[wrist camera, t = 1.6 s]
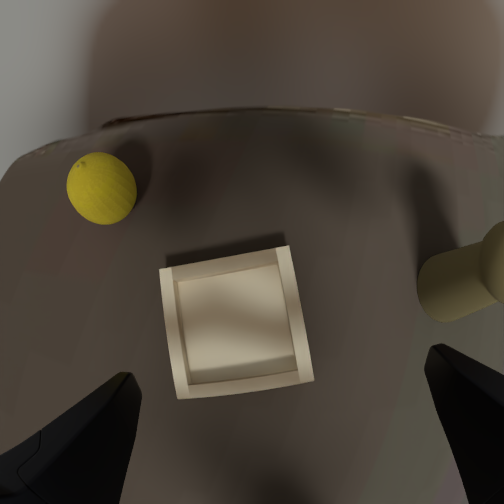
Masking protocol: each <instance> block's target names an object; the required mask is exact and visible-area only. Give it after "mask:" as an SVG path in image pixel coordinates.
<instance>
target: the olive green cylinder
mask: <svg viewBox="0 0 504 504" xmlns="http://www.w3.org/2000/svg"><path fill="white" fill-rule="evenodd" d="M417 293H418V297H419V300H420V304H421V305H422V307H423V309H424V311H425V312H426V313H427V314H428V315H429V316H430V317H431V318H432V319H434V320H436V321H439V322H452V321H454V320H457V319H459V318H461V317H464V316H466V315H469V314H471V313H473V312H476V311H478V310H480V309H482V308H485V307H487V306H489V305H491V304H493V303H496V302H498V301H499V302H501V303H503V304H504V221H502V222H499V223H498V224H496V225H495V226H493V227H492V229H491V230H490V231H489V232H488V233H487V234H486V236H485V237H484V239H483V241H481V242H478V243H474V244H471V245H468V246H464V247H461V248H458V249H454V250H451V251H447V252H444V253H440V254H437V255H434V256H432V257H430V258H429V259H428V260H427V261H426V262H425V263H424V264H423V266H422V268H421V270H420V272H419V276H418V280H417Z"/></svg>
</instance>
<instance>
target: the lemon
mask: <svg viewBox="0 0 504 504" xmlns="http://www.w3.org/2000/svg"><path fill="white" fill-rule="evenodd" d="M67 193H68V196H69V199H70V201H71V203H72V204H73V206H74V207H75V209H76V210H77V211H78V212H79V213H80V214H81V215H82V216H83V217H85V218H86V219H88V220H89V221H91V222H94V223H98V224H102V225H105V224H113V223H116V222H119V221H120V220H122V219H124V218H125V217H126V216H127V215H128V214H129V213H130V211H131V210H132V208H133V206H134V204H135V201H136V197H137V187H136V183H135V179H134V177H133V175H132V173H131V171H130V170H129V169H128V167H127V166H126V165H125V164H124V163H123V162H122V161H120V160H119V159H117V158H116V157H114V156H112V155H110V154H107V153H103V152H94V153H90V154H87V155H85V156H84V157H82V158H80V159H79V160H78V161H77V162H76V163H75V164H74V165H73V167H72V169H71V170H70V173H69V175H68V179H67Z"/></svg>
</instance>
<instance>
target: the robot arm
mask: <svg viewBox="0 0 504 504" xmlns="http://www.w3.org/2000/svg"><path fill="white" fill-rule="evenodd" d="M424 371H425V375H426V378H427V381H428V384H429V388H430V391H431V394H432V398H433V401H434V405H435V408H436V411H437V414H438V416H439V419H440V421H441V424H442V426H443V429H444V431H445V434H446V436H447V439H448V442H449V444H450V447H451V450H452V453H453V455H454V458H455V461H456V464H457V467H458V470H459V473H460V476H461V479H462V482H463V485H464V489H465V492H466V495H467V499H468V502H469V504H504V375H503V374H501V373H499V372H497V371H495V370H493V369H491V368H489V367H487V366H486V365H484V364H482V363H480V362H478V361H476V360H474V359H472V358H470V357H468V356H466V355H464V354H462V353H461V352H459V351H457V350H455V349H453V348H451V347H449V346H447V345H445V344H442V343H441V344H437V345H433V346H431V347H430V349H429V352H428V356H427V359H426V363H425V367H424ZM141 400H142V392H141V389H140V387H139V385H138V383H137V381H136V378H135V376H134V375H133V374H132V373H131V372H119V373H118V374H116V375H115V376H114V377H112V378H111V379H109V380H108V381H107V382H105V383H104V384H103V385H101V386H100V387H99V388H97V389H96V390H95V391H93V392H92V393H90V394H89V395H88V396H86V397H85V398H84V399H82V400H81V401H80V402H78V403H77V404H75V405H74V406H73V407H71V408H70V409H69V410H67V411H66V412H64V413H63V414H62V415H60V416H59V417H58V418H56V419H55V420H53V421H52V422H51V423H49V424H48V425H46V426H45V427H44V428H42V431H41V430H39V431H38V432H37V433H35V434H34V435H32V436H31V437H29V438H28V439H26V440H25V441H23V442H22V443H20V444H19V445H17V446H15V447H14V448H12V449H10V450H9V451H7V452H5V453H3V454H1V455H0V504H119V501H120V497H121V493H122V489H123V485H124V480H125V476H126V472H127V468H128V464H129V461H130V457H131V453H132V449H133V445H134V442H135V437H136V432H137V425H138V419H139V412H140V406H141Z"/></svg>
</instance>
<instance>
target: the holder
mask: <svg viewBox="0 0 504 504" xmlns="http://www.w3.org/2000/svg"><path fill="white" fill-rule="evenodd" d="M159 271H160V282H161V292H162V301H163V310H164V318H165V325H166V333H167V340H168V347H169V353H170V360H171V366H172V372H173V378H174V383H175V389H176V394H177V399H189V398H201V397H212V396H222V395H231V394H239V393H247V392H254V391H261V390H267V389H273V388H279V387H285V386H290V385H296V384H301V383H306V382H311V381H314V375H313V369H312V364H311V358H310V352H309V346H308V341H307V335H306V330H305V324H304V319H303V314H302V308H301V303H300V298H299V293H298V288H297V283H296V278H295V273H294V268H293V263H292V258H291V253H290V249H289V246H283V247H278V248H273V249H267V250H262V251H256V252H251V253H245V254H240V255H235V256H229V257H224V258H218V259H213V260H207V261H202V262H197V263H191V264H186V265H180V266H175V267H169V268H164V269H159Z"/></svg>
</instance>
